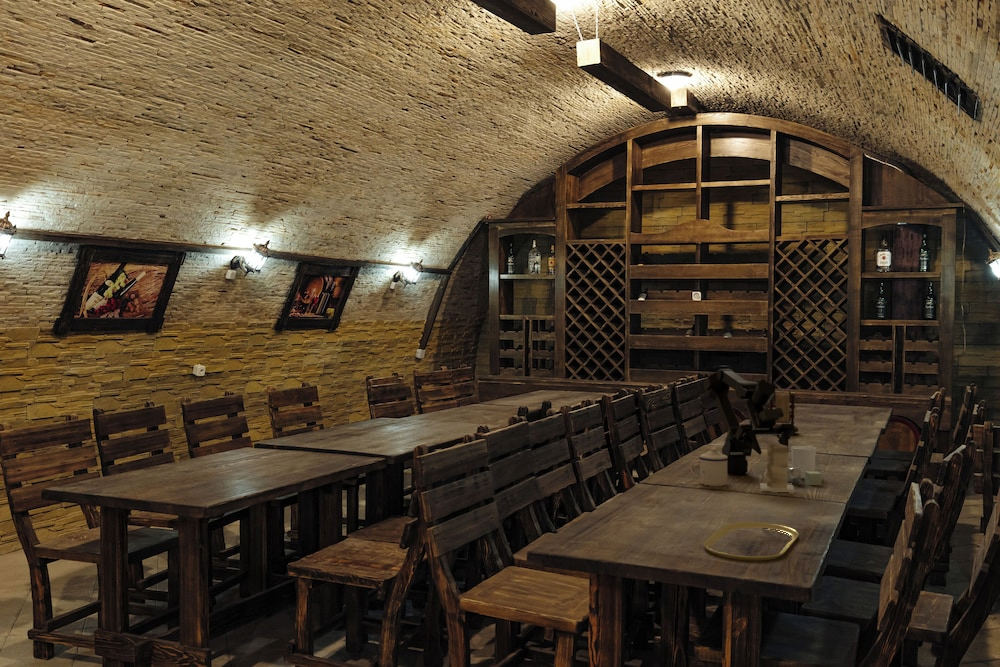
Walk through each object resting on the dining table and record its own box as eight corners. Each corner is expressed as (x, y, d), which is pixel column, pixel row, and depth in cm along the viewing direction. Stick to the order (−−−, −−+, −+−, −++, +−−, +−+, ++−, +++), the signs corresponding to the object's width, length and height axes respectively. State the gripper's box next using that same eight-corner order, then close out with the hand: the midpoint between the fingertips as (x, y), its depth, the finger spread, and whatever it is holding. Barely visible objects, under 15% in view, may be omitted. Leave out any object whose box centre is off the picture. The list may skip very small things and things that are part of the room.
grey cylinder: (787, 484, 297) (787, 469, 297) (786, 481, 302) (786, 466, 301) (801, 485, 296) (801, 469, 296) (800, 482, 301) (800, 467, 300)
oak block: (766, 485, 290) (767, 444, 289) (779, 484, 291) (780, 444, 290) (773, 488, 285) (774, 446, 285) (787, 487, 286) (787, 446, 286)
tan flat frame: (804, 533, 234) (804, 527, 234) (776, 567, 204) (776, 560, 203) (731, 524, 243) (731, 519, 243) (693, 556, 212) (694, 549, 212)
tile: (761, 491, 285) (761, 488, 285) (759, 486, 294) (759, 483, 294) (794, 493, 283) (794, 490, 283) (792, 487, 291) (792, 484, 291)
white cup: (816, 479, 306) (817, 449, 306) (792, 478, 308) (792, 448, 307) (813, 475, 314) (814, 446, 313) (789, 474, 315) (790, 445, 315)
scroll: (766, 435, 411) (767, 390, 410) (762, 430, 425) (763, 387, 424) (800, 436, 408) (801, 391, 408) (795, 431, 423) (796, 388, 422)
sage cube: (809, 485, 295) (809, 473, 295) (804, 483, 299) (804, 471, 299) (821, 485, 296) (821, 473, 295) (816, 483, 300) (816, 471, 299)
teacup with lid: (729, 482, 300) (729, 447, 299) (726, 487, 291) (726, 451, 291) (692, 479, 304) (692, 444, 303) (688, 484, 295) (688, 448, 295)
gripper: (740, 399, 293) (755, 439, 282) (793, 398, 296) (810, 437, 286) (728, 420, 301) (743, 459, 290) (780, 419, 304) (797, 458, 294)
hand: (774, 453), depth 290 cm, fingers open, 9 cm apart
